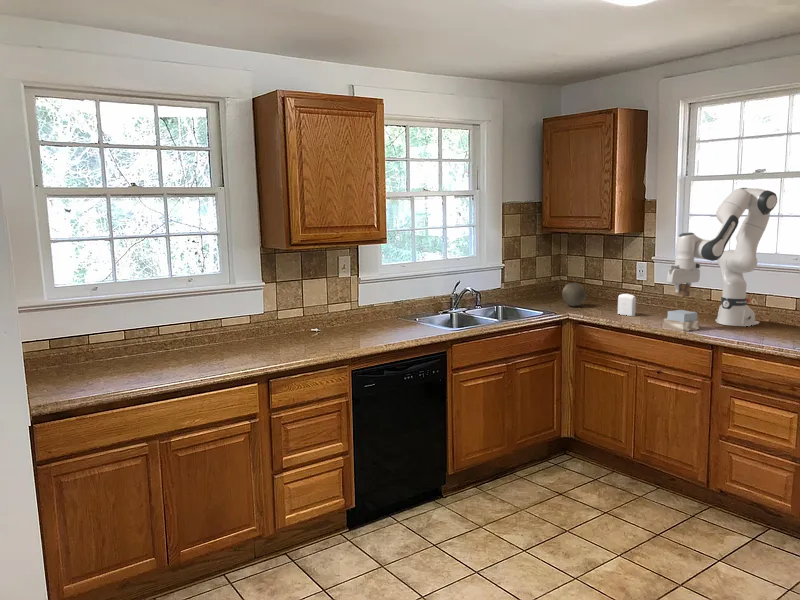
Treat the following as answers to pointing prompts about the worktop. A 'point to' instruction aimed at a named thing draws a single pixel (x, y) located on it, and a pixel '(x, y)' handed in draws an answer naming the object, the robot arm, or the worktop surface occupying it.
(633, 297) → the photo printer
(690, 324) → the ash base slab
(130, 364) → the worktop surface
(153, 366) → the worktop surface
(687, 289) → the walnut block
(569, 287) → the grey ball
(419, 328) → the worktop surface
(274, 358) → the worktop surface
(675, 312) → the slate top block
